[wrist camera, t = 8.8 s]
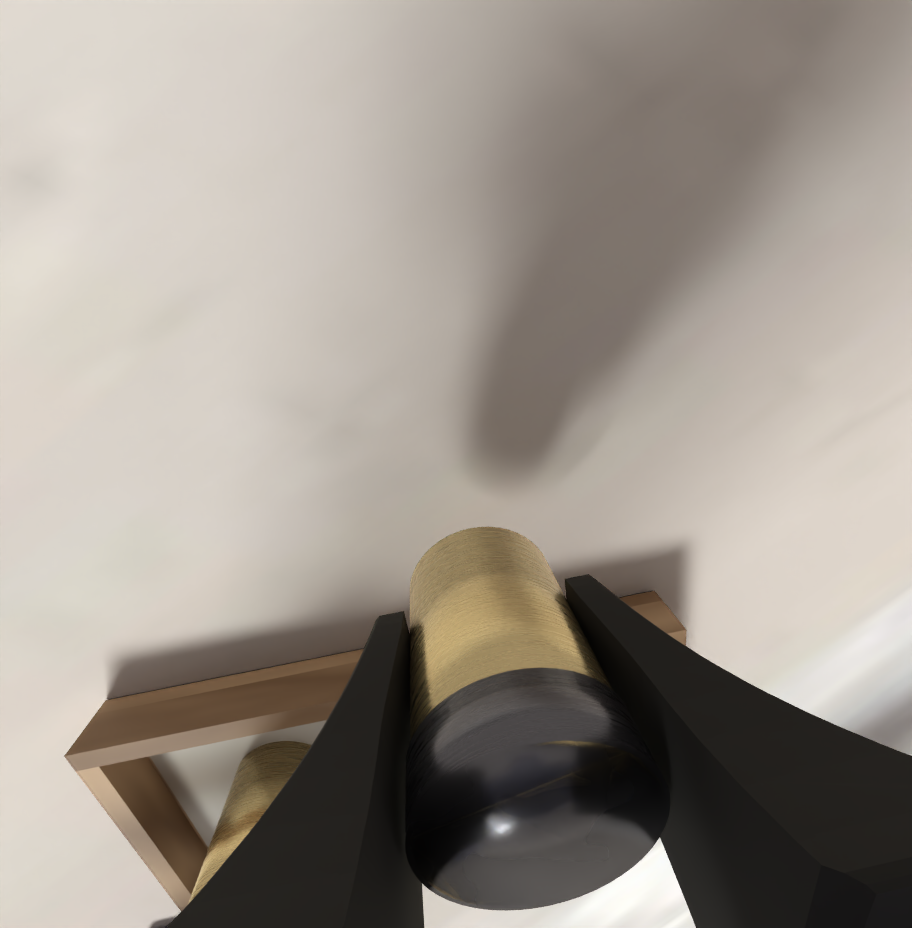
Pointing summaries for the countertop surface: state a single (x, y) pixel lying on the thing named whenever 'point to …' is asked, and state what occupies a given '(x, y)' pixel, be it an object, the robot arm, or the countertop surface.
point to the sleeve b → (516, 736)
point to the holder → (215, 748)
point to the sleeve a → (249, 800)
